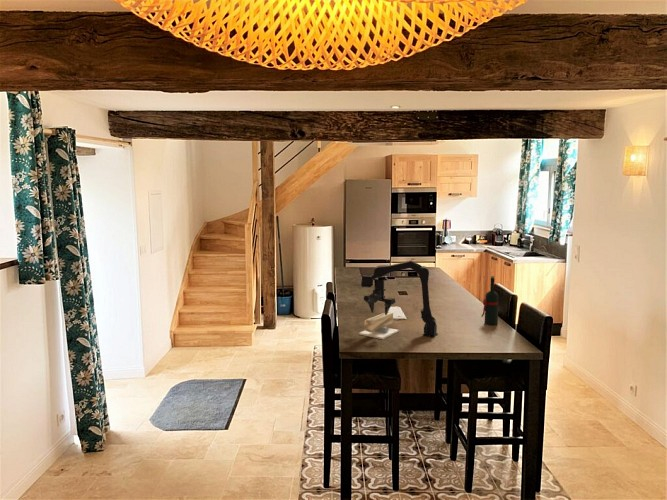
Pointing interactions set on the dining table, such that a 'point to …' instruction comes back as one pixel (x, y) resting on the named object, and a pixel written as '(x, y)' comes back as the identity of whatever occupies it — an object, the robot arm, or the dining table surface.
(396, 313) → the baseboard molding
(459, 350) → the dining table surface
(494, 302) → the wine bottle
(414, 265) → the robot arm
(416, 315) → the dining table surface
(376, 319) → the birch bar
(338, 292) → the dining table surface
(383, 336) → the ridge stand
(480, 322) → the dining table surface
